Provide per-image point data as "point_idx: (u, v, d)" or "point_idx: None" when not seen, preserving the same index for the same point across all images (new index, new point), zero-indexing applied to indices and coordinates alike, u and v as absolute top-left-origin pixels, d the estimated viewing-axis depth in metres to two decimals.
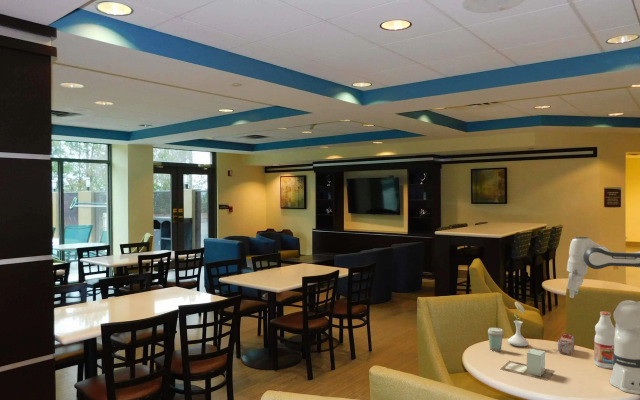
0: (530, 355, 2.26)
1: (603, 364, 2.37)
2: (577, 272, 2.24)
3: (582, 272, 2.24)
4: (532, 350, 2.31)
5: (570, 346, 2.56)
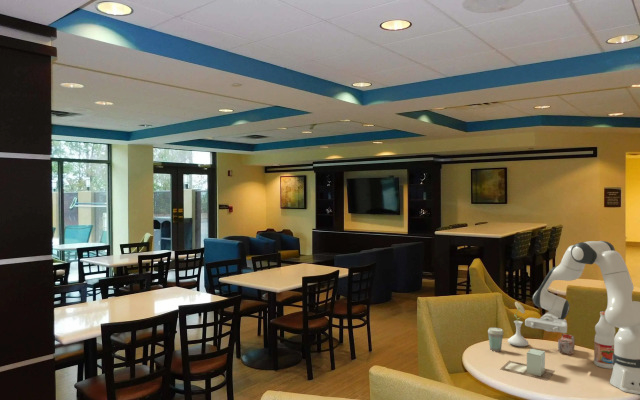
0: (530, 355, 2.26)
1: (603, 364, 2.37)
2: None
3: (542, 316, 2.51)
4: (532, 350, 2.31)
5: (570, 346, 2.56)
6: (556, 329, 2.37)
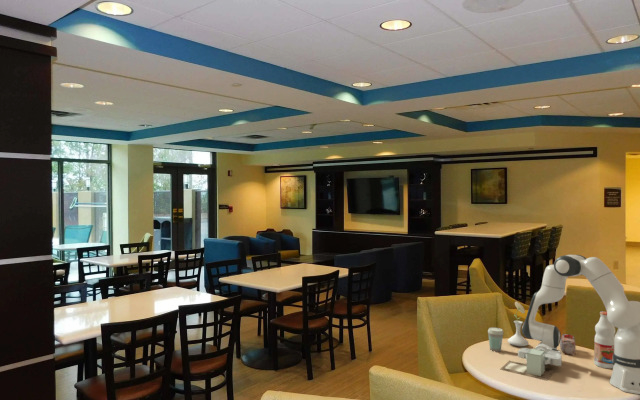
0: (530, 355, 2.26)
1: (603, 364, 2.37)
2: None
3: None
4: (532, 350, 2.31)
5: (573, 346, 2.56)
6: (548, 361, 2.27)
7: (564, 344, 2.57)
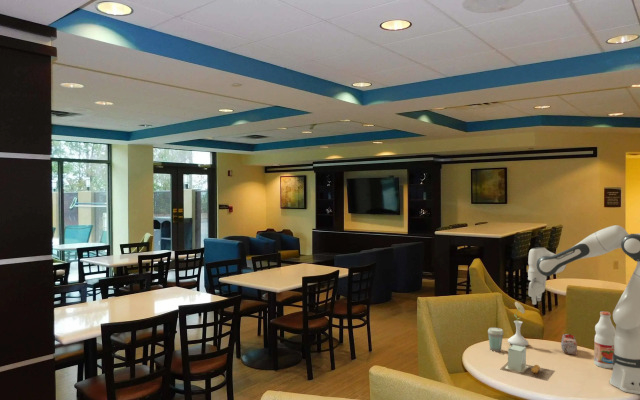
0: (511, 351, 2.31)
1: (603, 364, 2.37)
2: (537, 280, 2.43)
3: (541, 280, 2.43)
4: (513, 346, 2.36)
5: (575, 346, 2.56)
6: None
7: (566, 344, 2.57)
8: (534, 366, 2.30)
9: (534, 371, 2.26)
